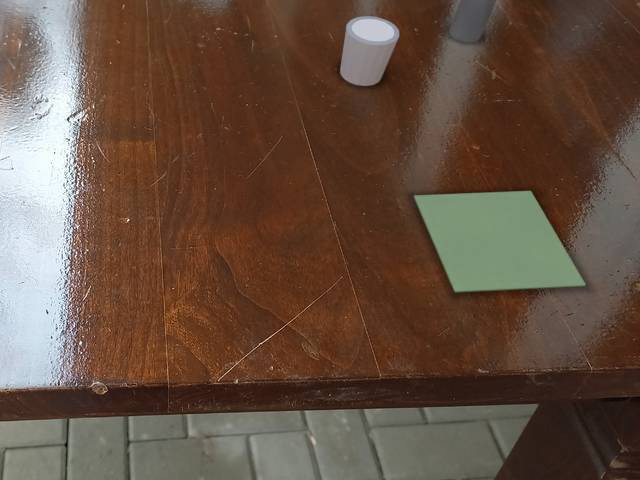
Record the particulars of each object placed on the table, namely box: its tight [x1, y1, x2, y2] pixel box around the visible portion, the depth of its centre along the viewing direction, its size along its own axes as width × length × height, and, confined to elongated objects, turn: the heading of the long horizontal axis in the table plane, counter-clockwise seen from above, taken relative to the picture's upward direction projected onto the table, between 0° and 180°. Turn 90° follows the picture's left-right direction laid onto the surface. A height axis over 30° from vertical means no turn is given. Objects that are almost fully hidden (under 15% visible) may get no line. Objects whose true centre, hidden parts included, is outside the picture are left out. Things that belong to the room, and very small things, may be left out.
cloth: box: [413, 190, 586, 294], centre depth 76 cm, size 14×14×1 cm
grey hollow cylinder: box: [448, 0, 497, 43], centre depth 98 cm, size 4×4×10 cm
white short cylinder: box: [339, 15, 400, 87], centre depth 93 cm, size 7×7×7 cm
